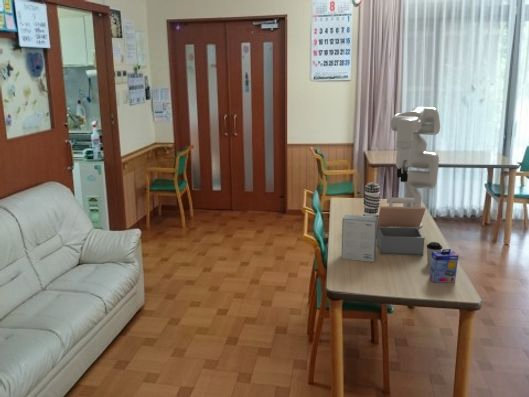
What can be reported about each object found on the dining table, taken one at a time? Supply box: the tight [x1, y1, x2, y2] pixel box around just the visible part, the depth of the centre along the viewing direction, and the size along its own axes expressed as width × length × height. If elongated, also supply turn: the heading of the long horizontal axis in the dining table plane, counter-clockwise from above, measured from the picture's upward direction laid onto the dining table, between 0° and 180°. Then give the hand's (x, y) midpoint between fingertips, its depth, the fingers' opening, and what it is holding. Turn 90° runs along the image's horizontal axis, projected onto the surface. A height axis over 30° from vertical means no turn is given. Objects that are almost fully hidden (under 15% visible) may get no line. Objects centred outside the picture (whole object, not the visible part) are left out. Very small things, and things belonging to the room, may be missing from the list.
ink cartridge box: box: [429, 248, 459, 283], centre depth 214 cm, size 10×6×14 cm, turn 95°
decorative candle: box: [362, 181, 381, 221], centre depth 283 cm, size 9×9×25 cm
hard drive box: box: [341, 214, 377, 263], centre depth 238 cm, size 16×8×20 cm, turn 71°
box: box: [376, 227, 425, 257], centre depth 250 cm, size 15×20×9 cm
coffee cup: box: [426, 241, 443, 267], centre depth 231 cm, size 7×7×10 cm
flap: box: [377, 197, 427, 229], centre depth 252 cm, size 16×21×8 cm
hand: (402, 179), depth 248 cm, fingers open, 9 cm apart
